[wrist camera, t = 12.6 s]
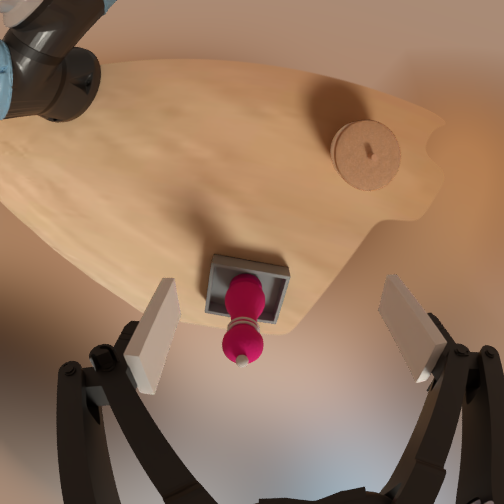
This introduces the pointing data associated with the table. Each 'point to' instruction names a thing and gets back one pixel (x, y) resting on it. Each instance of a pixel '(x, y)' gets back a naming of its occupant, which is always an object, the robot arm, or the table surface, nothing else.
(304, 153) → the table surface
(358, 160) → the lidded jar
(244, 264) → the bin
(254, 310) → the pepper mill
